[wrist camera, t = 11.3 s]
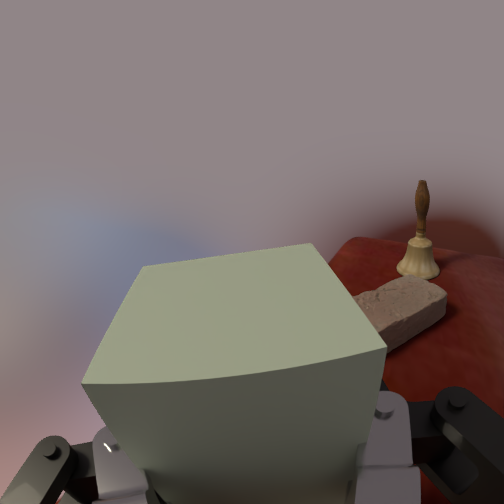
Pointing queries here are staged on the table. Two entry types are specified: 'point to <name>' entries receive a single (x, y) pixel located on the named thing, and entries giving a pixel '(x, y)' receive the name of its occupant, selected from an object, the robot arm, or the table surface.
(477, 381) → the table surface
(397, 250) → the table surface
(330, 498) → the sage pillar
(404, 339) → the brick
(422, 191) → the hand bell
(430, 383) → the table surface
